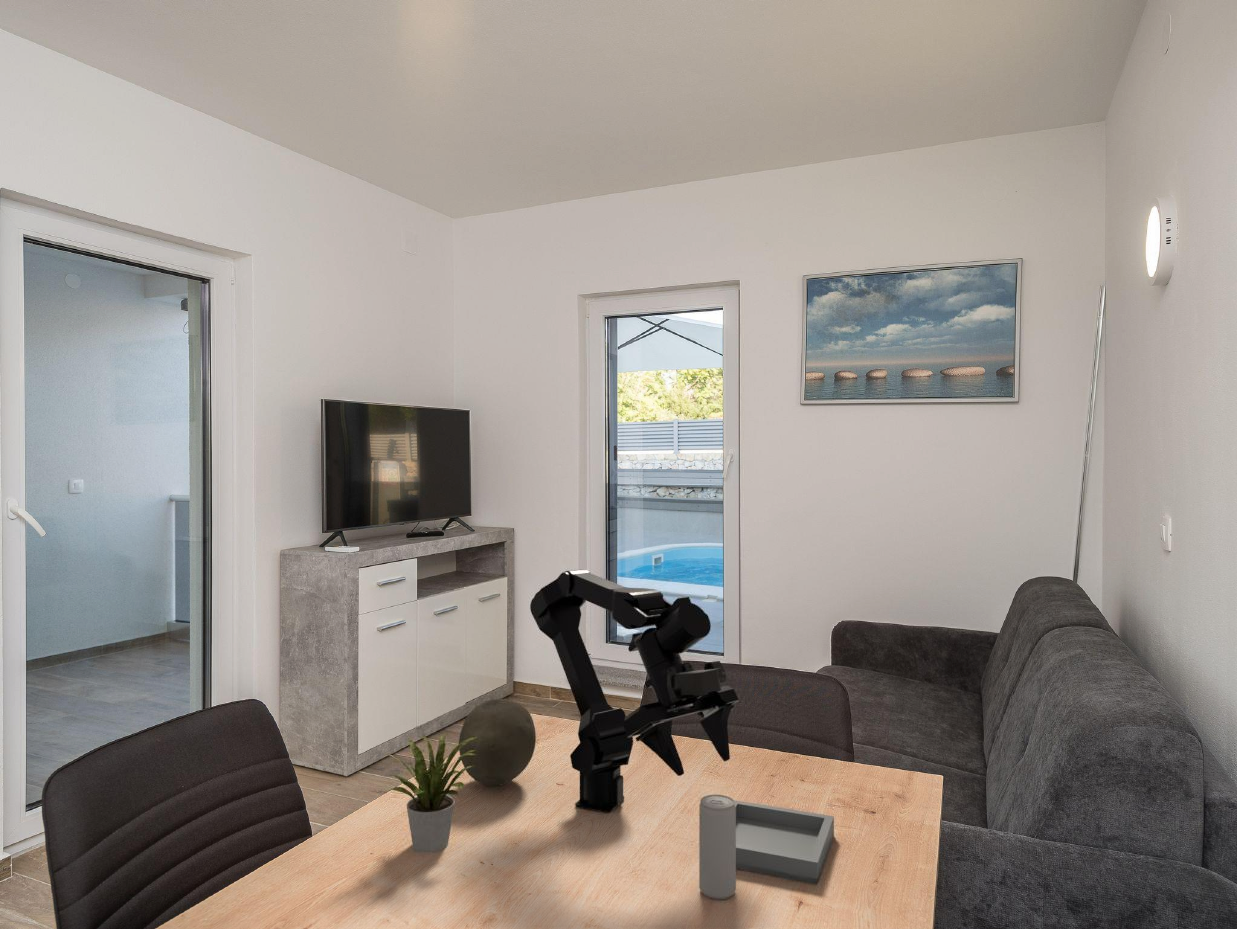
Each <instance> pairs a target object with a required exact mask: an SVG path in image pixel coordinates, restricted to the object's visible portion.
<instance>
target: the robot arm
mask: <svg viewBox="0 0 1237 929" xmlns="http://www.w3.org/2000/svg"><path fill="white" fill-rule="evenodd" d="M586 602H589V603H591V604H593V605H595V606H598V607H600V608H602V609H604V610H607V611H608V612H610V613H611V618H612V619H613V620H614V621H615V622H617V623H618V624H619V625H620V626H621V627H622V628H624V629H626V630H634V629H635V630H636V629H640V628H647V629H645V630H644V631H643V632H638V633H633V634H632V636H631V641H630V642H629V644H628V652H630V653H631V652H637V651H638V653H639V654H638V655H639V657H640V658H641V661H642V664H643V666H644V669H645V671H646V674H647V677H648V679H647V680H646V681H645V682H644V685H645V687H646V689H651V688H652V690H653V692H654V695H655V698H656V700H657V701H656V702H652V703H647V704H644V705H643V704H642V705H640V706H639V707H637V708H636V709H635V710H633V711H632V712H630V713H629V714H627V715H626V713H625V712H626V711H624V709H623V708H622V707H619V708H613V707H612V706H611V705H610V704H609V703H608V701H607V698H606V696H605V693H604V691H603V688H602V686H601V682H600V681H599V678H598V676H597V673H596V671H595V668H594V665H593V663H592V659H591V658H590V655H589V652H588V650H587V647H586V645H585V642H584V640H583V638H582V634H581V631H580V630H579V629H580V628H579V627H580V624H581V618H582V611H581V608H582V606H583V605H584V604H585V603H586ZM529 607H530V613H531V615H532V618H533V619H534V621H535V623H536V625H537V627H538V629H539V630H540V632H541V633H543V634H544V635H545V636H547V637H548V638H549V639H550V640H551V641H552V642H553V645H554V648H555V650H556V652H557V656H558V658H559V661H560V663H561V666H562V669H563V671H564V674H565V677H566V679H567V682H568V685H569V688H570V690H571V692H572V693H571V694H572V695H573V698H574V701H575V703H576V706H577V709H578V712H579V714H580V719H579V720H580V721H579V726H578V730H577V737H578V740H579V744H577V746H576V747H575V748H574V749H573V751H572V752H571V753H570V755H569V757H570V763H571V768H572V769H573V770H576V771H578V772H579V799H578V801H576V802H575V804H574V806H575V807H576V808H580V809H587V810H592V811H597V812H603V813H611V812H613V811H614V810H615V809H616V808H617V807H618V806H619V805H620V804H621V803H622V802H623V801H624V800H625V796H624V776H623V775H621V769H622V768H621V767H622V766H627V765H629V760H630V757H631V753H632V749H633V745H634V737H635V741H636V742H641V743H643V744H644V745H645V746H646V747H647V748H649V749H650V750H651V751H652V752H653V753H654V754H655V755H657V757H659V759H661V760H662V761H663V762H664V763H665V765H667V766H668V767H669V768H670V769H671V770H672V771H673V773H675V775H677V776H679V777H680V776H683V775H684V774H685V771H684V768H683V767H684V766H683V762H682V760H681V757H680V755H679V754H680V753H679V752H678V749H677V747H676V744H675V742H674V738H673V736H672V731H673V730H672V729H673V720H674V719H678V718H682V717H685V716H690V715H694V714H697V715H698V716H700V717H701V718H702V719H701V720H699V723H700V725H701V727H702V728H703V730H704V732H705V734H706V735H707V737H708V738H709V741H710V742H711V744H712V745H713V747H714V749H715V751H716V752H717V753H718V756H720V758H721V760H723V762H727V761H729V760H730V758H731V755H730V754H731V753H730V744H729V730H728V728H729V727H728V726H729V724H728V722H729V721H728V720H729V717H730V714H731V713H732V712H731V711H732V710H734V709H735V706H736V705H735V704H736V703H738V702H739V701H740V700H739V697H738V695H737V693H736V691H735V688H733V687H731V686H729V685H723V686H721V684H722V683H726V680H727V675H726V670H725V668H724V667H723V664H722V663H721V661H720V660H714V661H708V662H706V663H704V666H703V668H702V669H699V670H694V668H693V666H692V664H691V663H690V662H685V663H684V662H683V659H682V657H681V654H684V653H685V652H687V651H689V650H690V649H691V648H692V647H694V646H695V645H696V644H697V643H699V642H700V641H701V640H703V639H704V638H705V637H707V636H708V635H709V634H710V632H711V627H712V625H711V620H710V618H709V615H708V614H707V613H705V610H703V608H702V607H700V606H699V605H697V604H695V603H693V602H692V601H691V599H690V596H680V597H677V598H676V599H675V600H674V601H673V602H672V603H671V602H670V601H668V600H667V599H666V598H664V594H663V593H662V592H661V591H659V590H658V589H653V588H646V587H639V588H638V587H626V586H623V585H621V584H619V583H616V582H613V581H611V580H609V579H607V578H603V577H601V576H598V575H595V574H593V573H591V572H590V571H589V570H586V569H572V570H571V569H570V570H565V571H563V572H561V573H560V574H559V576H558V577H557V578H556V579H554V580H553V581H551V582H549V583H547V584H546V585H545V586H543V587H541V589H539V591H537V592H536V593H535V594H534V596H533V598H532V599H531V601H530V606H529Z"/></svg>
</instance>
